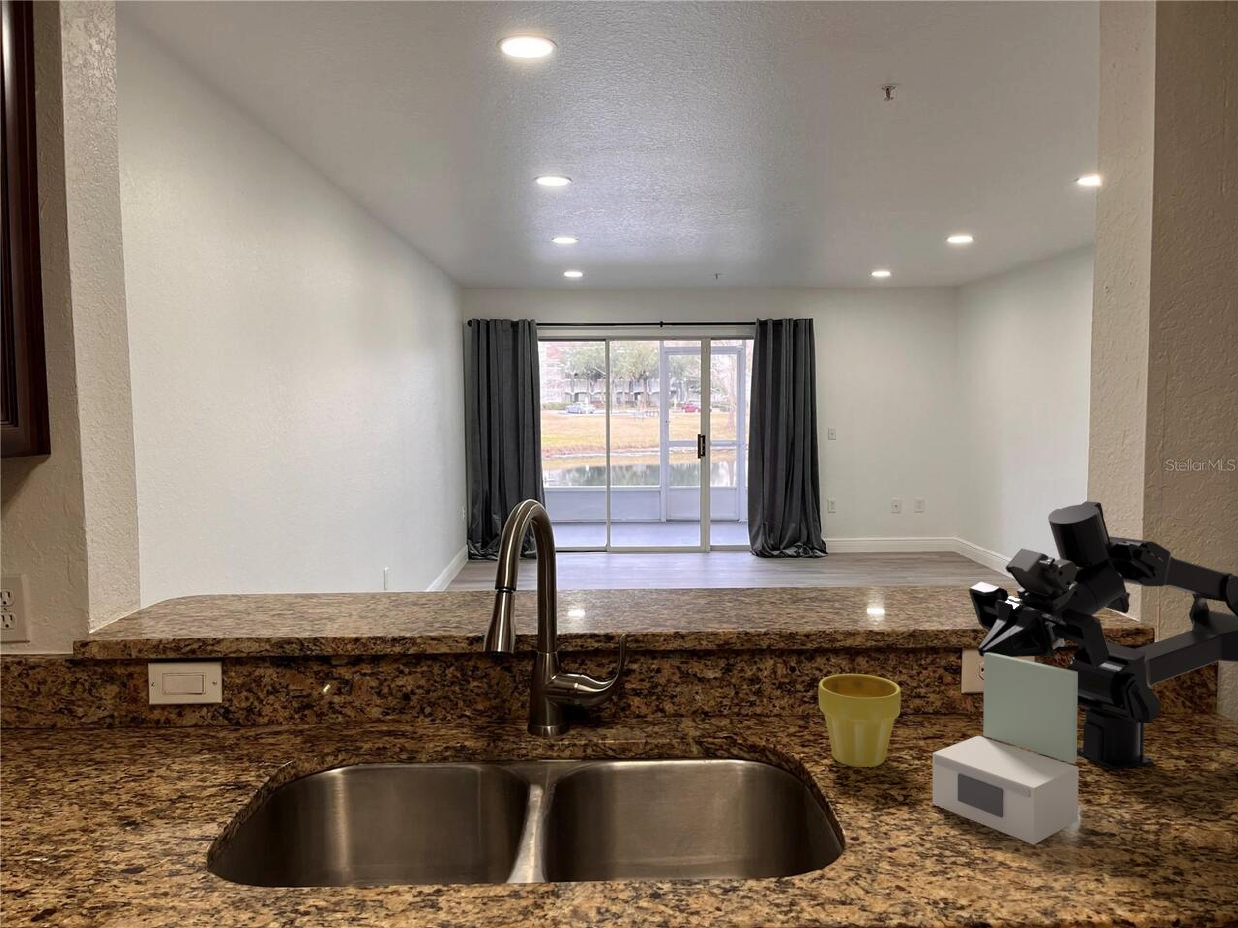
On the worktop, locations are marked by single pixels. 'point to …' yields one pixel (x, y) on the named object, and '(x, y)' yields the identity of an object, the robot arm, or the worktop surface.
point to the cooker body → (1006, 788)
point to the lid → (1031, 705)
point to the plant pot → (859, 716)
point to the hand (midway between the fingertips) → (981, 653)
